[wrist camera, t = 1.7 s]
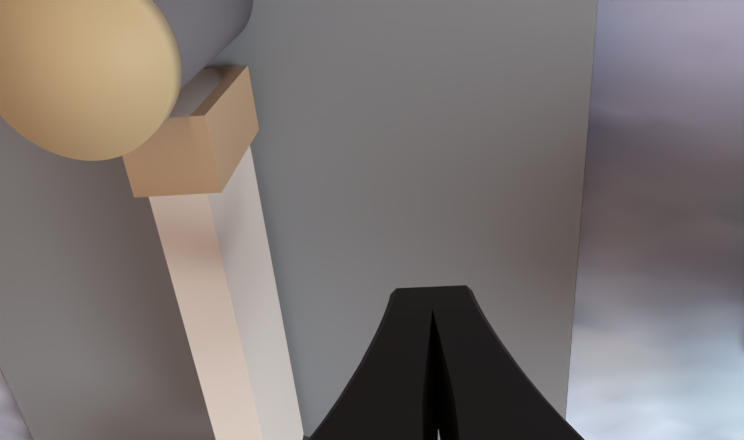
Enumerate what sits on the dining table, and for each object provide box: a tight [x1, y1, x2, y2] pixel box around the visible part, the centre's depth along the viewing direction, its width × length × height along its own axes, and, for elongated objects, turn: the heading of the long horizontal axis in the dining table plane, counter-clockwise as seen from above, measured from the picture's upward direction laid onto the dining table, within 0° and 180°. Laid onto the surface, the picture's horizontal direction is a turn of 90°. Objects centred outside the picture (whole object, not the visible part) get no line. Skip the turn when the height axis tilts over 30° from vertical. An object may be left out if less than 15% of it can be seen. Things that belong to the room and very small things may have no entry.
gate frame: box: [0, 0, 598, 440], centre depth 16 cm, size 18×19×8 cm
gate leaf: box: [122, 65, 304, 440], centre depth 16 cm, size 12×2×4 cm, turn 5°
